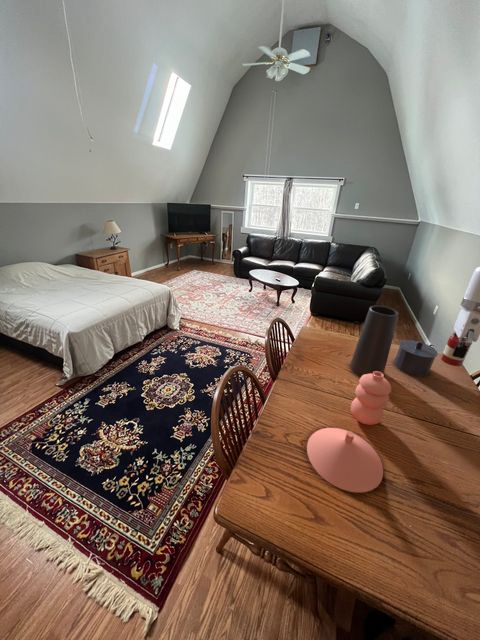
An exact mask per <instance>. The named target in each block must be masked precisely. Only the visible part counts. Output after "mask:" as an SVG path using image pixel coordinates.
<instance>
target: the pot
mask: <svg viewBox="0 0 480 640" xmlns="http://www.w3.org/2000/svg"><path fill="white" fill-rule="evenodd" d="M435 359H436V357H435V358H422V357H418V356H414V355H412V354H409V353H407V352H406V351H404V350H403V349H401V347H400V346H399V347H398V350H397V352H396V356H395V359H394V362H393V363H394V366H395V367H396V368H397V369H399V370H400V371H402V372H404V373H406V374H408V375H412V376H416V377H425V376H428V374H429V373H430V370H431V368H432V367H433V364H434V361H435Z"/></svg>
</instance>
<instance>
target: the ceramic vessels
mask: <svg viewBox="0 0 480 640" xmlns="http://www.w3.org/2000/svg"><path fill="white" fill-rule="evenodd" d="M358 382H359V383H358V384H357V386H356V387H355V396H356V397H355V398H354V399H353V400H352V402H351V404H350V412H351V414H352V416H353V417H354V419H355V420H356V421H358V422H360V423H361V424H364V425H368V426H373V425H377V424H379V423H380V422H381V421H382V420H383V417H384V407H386V406H387V404H388V403H389V401H390V396H389V394H390V393H391V392H392V385H391V383H390V381H389V380H387V379H386V378H385V375H384V374H383V373H381V372H378V371H374V372H373V374H365V375H363V376H362V377H360V378H359V380H358ZM306 453H307V457H308V459H309V463H310V464H311V466H312V468H313V469H314V470H315V471H316V472H317V473H318V475H319V476H320V477H321V478H322V479H324V481H326V482H327V483H329V484H331V485H332V486H334V487H336V488H338V489H340V490H343V491H346V492H351V493H357V494H358V493H367V492H370V491H373V490H375V489H376V488H377V487H378V486H379V485H380V484H381V483H382V480H383V477H384V467H383V462H382V460H381V458H380V456H379V454H378V452H377V451H376V450H375V448H373V446H372V445H371V444H369V442H367V441H366V440H365V439H363V438H362V437H361V436H359V435H357V434H356V433H354V432H353V431H351V430H347V429H343V428H339V427H325V428H320V429H318V430H316V431H315V432H313V433H312V434H311V435H310V437H309V438H308V440H307V444H306Z"/></svg>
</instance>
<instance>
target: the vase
mask: <svg viewBox="0 0 480 640" xmlns="http://www.w3.org/2000/svg"><path fill="white" fill-rule="evenodd" d="M399 315H400V313H399V312H398V311H397V310H396V309H394V308H391V307H388V306H385V305H371V306H370V307H369V308H368V311H367V314H366V317H365V320H364V322H363V326H362V328H361V330H360V335H359V337H358V340H357V343H356V346H355V349H354V352H353V355H352V358H351V361H350V364H349V369H350V371H351V372H352V373H353V374H354V375H356V376H358V377H360V378H361V377H362V376H363V375H365V374H373V372H374V371H378V372H381V373H383V375H384V374H385V370H386V366H387V363H388V358H389V354H390V350H391V347H392V342H393V338H394V336H395V331H396V327H397V324H398V319H399Z"/></svg>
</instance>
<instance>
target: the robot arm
mask: <svg viewBox="0 0 480 640" xmlns="http://www.w3.org/2000/svg"><path fill="white" fill-rule="evenodd" d="M459 307H460V310H459V313H458V315H457V318H456V320H455V322H454V325H453V330H454V331H453V333H452V335H456V336H458V337H459V342H458V346H456V347H455V349H454V352H453V354H452V356H454V357H458V358H464V357H465V354H466V352H467V350H468V349H469V350H470V348H469V346H470V345H471V346H472V345H473V343H476V342H477V341H478V340H479V338H480V266H478V267H476V268H475V270H474V271H473V274H472V276H471V277H470V280H469V283H468V285H467V288H466V290H465V293H464V295H463V298H462V300H461V303H460V305H459ZM462 337H465V338H466V339H464V338H462ZM462 340H464V341H465V342H463V343H462ZM471 346H470V347H471ZM465 358H466V357H465Z"/></svg>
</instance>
